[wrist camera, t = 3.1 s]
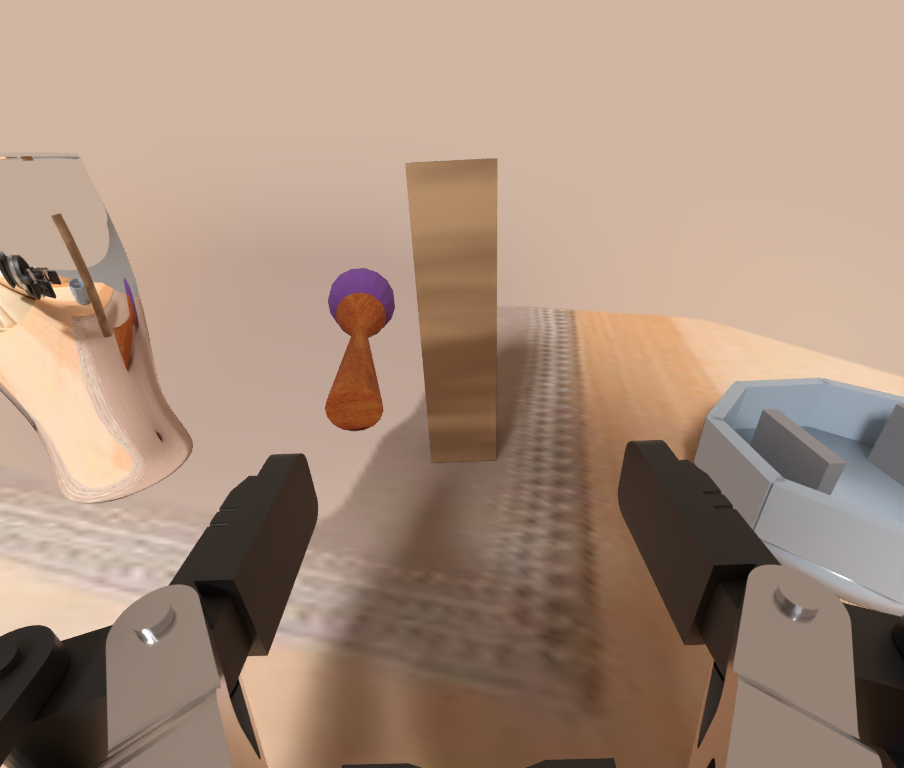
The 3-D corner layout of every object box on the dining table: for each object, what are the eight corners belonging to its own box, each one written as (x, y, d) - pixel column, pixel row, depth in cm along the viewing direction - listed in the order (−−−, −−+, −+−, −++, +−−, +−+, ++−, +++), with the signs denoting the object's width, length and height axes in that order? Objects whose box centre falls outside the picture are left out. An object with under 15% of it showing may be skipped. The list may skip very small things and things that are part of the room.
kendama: (282, 381, 23) (321, 270, 40) (325, 458, 26) (344, 325, 43) (388, 352, 23) (382, 253, 40) (417, 433, 26) (400, 310, 43)
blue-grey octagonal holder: (1128, 619, 14) (1231, 530, 12) (800, 629, 14) (849, 543, 12) (854, 432, 23) (887, 366, 21) (660, 440, 23) (675, 375, 21)
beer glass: (164, 503, 20) (-11, 150, 13) (13, 517, 20) (-250, 162, 13) (221, 424, 27) (122, 153, 19) (106, 433, 26) (-38, 161, 19)
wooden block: (496, 460, 22) (497, 158, 15) (431, 462, 22) (405, 163, 16) (490, 424, 25) (489, 158, 18) (433, 426, 25) (412, 162, 19)
